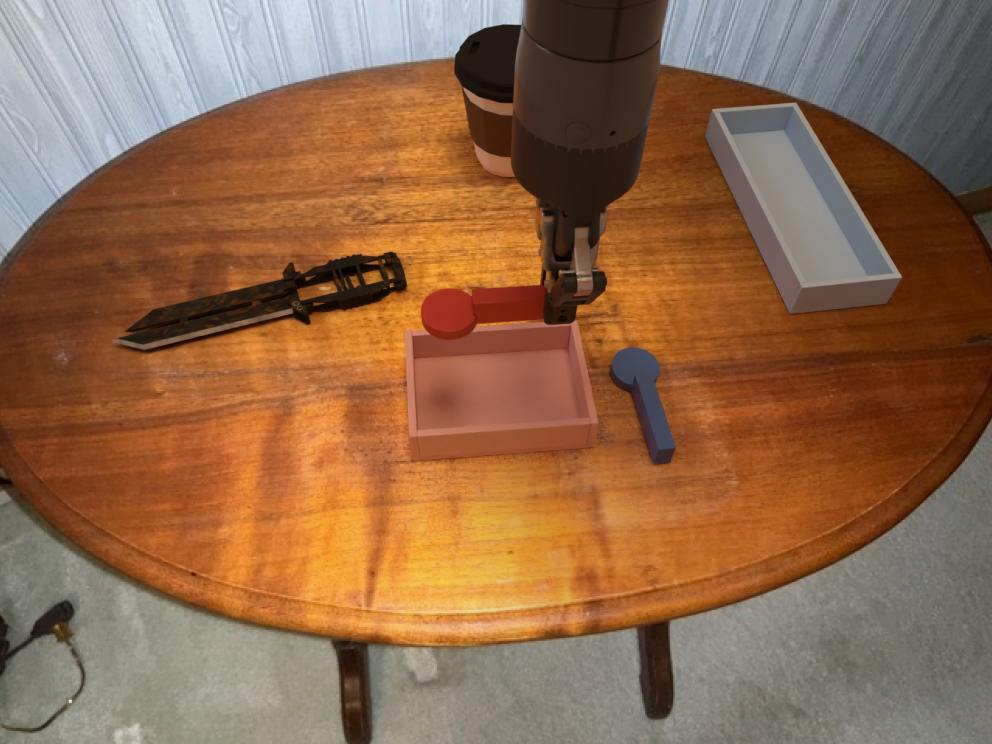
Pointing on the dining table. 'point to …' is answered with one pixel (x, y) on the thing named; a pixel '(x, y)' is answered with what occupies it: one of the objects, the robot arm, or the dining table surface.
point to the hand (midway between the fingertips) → (556, 309)
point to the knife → (271, 308)
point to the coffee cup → (490, 93)
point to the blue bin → (799, 210)
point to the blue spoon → (645, 398)
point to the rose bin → (498, 391)
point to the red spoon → (479, 309)
